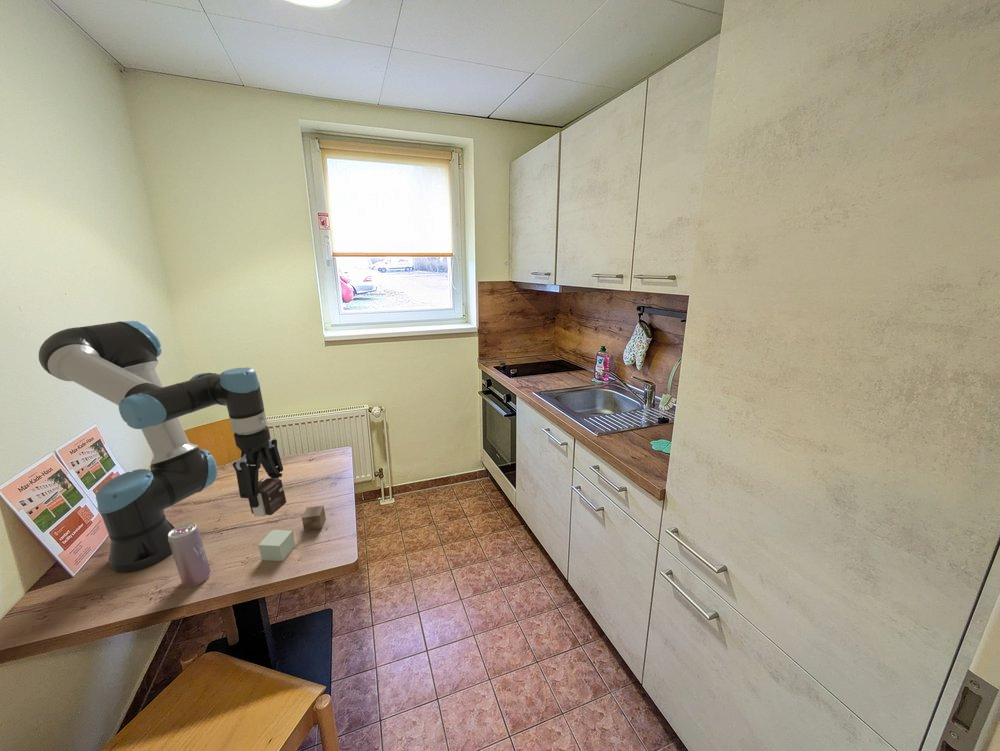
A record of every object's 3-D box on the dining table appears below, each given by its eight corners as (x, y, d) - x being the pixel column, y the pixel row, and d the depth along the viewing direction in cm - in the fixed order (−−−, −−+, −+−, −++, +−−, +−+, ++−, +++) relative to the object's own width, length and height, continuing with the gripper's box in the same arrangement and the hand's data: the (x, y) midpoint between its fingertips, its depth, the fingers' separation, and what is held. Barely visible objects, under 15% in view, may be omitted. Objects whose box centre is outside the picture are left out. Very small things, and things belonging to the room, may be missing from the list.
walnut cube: (304, 531, 117) (301, 517, 116) (309, 521, 122) (306, 507, 121) (322, 529, 118) (319, 515, 117) (326, 519, 123) (323, 505, 122)
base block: (261, 560, 106) (258, 545, 105) (275, 544, 112) (272, 530, 111) (282, 561, 106) (279, 545, 104) (295, 545, 112) (292, 530, 110)
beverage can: (193, 570, 103) (178, 523, 99) (216, 569, 104) (202, 521, 99) (176, 588, 98) (160, 539, 93) (201, 587, 98) (186, 537, 94)
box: (270, 516, 101) (265, 492, 99) (251, 514, 103) (244, 490, 100) (287, 502, 107) (282, 479, 105) (268, 500, 108) (262, 477, 106)
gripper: (237, 447, 89) (258, 531, 95) (287, 414, 107) (302, 487, 114) (206, 446, 89) (229, 530, 96) (262, 414, 108) (277, 486, 114)
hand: (268, 507), depth 105 cm, fingers closed on box, 6 cm apart
